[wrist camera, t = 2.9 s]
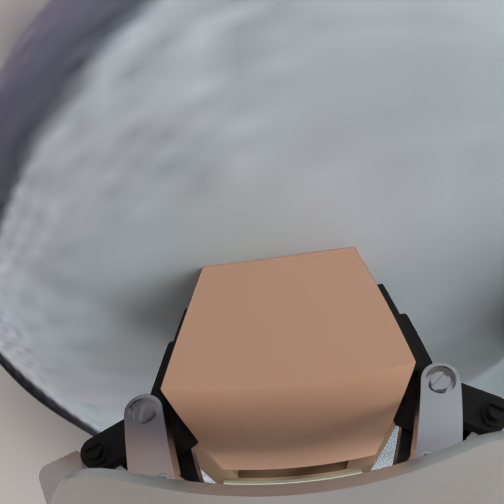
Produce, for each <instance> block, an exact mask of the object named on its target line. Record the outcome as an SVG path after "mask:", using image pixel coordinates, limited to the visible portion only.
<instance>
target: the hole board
mask: <svg viewBox="0 0 504 504" xmlns="http://www.w3.org/2000/svg"><path fill="white" fill-rule="evenodd" d="M395 426H396V425H395V424H394V420H393V421H392V423H391V425H390V427H389V429H388V431H387V433H386V435H385V437H384V439H383V441H382V443H381V445H380V447H379V449H378V451H377V453H376V454H375V455H372V456H367V457H363V458H358V459H353V460H348V461H342V462H337V463H330V464H324V465H316V466H308V467H298V468H286V469H268V470H225V469H222V468H221V467H220V466H219V465H218V464H217V463H216V462H215V461H214V459H213V458H212V457H211V456H210V455H209V454H208V452H207V451H206V450H205V449H204V448H203V446H202V445H201V444H200V443H199V441H198V444H197V445H196V446H194V448H195V452H196V456H197V459H198V463H199V467H200V468H201V469H202V470H203V471H204V472H205V473H206V474H207V475H208V476H209V477H210V478H212V479H213V480H214V481H215V482H216V483H217V484H232V485H269V484H288V483H300V482H310V481H318V480H326V479H332V478H338V477H344V476H350V475H355V474H360V473H364V472H369V471H370V470H371V468H372V467H373V465H374V464H375V462H376V460H377V459H378V457H379V455H380V453H381V452H382V450H383V448H384V446H385V445H386V443H387V441H388V439H389V437H390V435H391V433H392V432H393V430H394V428H395Z"/></svg>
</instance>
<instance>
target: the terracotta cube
mask: <svg viewBox="0 0 504 504" xmlns="http://www.w3.org/2000/svg"><path fill="white" fill-rule="evenodd" d="M415 363H416V361H415V359H414V357H413V355H412V353H411V350H410V348H409V346H408V344H407V342H406V340H405V338H404V336H403V334H402V332H401V330H400V328H399V326H398V324H397V322H396V320H395V318H394V316H393V314H392V312H391V310H390V308H389V306H388V304H387V302H386V301H385V299H384V297H383V295H382V293H381V291H380V290H379V288H378V286H377V284H376V282H375V281H374V279H373V277H372V275H371V273H370V272H369V270H368V268H367V266H366V265H365V263H364V261H363V260H362V258H361V256H360V255H359V253H358V251H357V250H356V248H355V247H349V248H342V249H335V250H328V251H320V252H313V253H305V254H298V255H291V256H283V257H275V258H268V259H260V260H253V261H245V262H237V263H230V264H222V265H214V266H206V267H203V269H202V272H201V274H200V277H199V280H198V282H197V285H196V288H195V290H194V293H193V296H192V299H191V301H190V304H189V307H188V310H187V313H186V315H185V318H184V321H183V324H182V327H181V329H180V332H179V335H178V338H177V341H176V344H175V347H174V350H173V353H172V356H171V359H170V362H169V365H168V368H167V371H166V374H165V377H164V380H163V383H162V386H161V391H162V392H163V394H164V395H165V397H166V398H167V400H168V401H169V403H170V404H171V405H172V407H173V408H174V410H175V411H176V413H177V414H178V415H179V417H180V418H181V419H182V421H183V422H184V423H185V425H186V426H187V427H188V429H189V430H190V431H191V433H192V434H193V435H194V436H195V438H196V439H197V440H198V441H199V443H200V444H201V445H202V446H203V448H204V449H205V450H206V451H207V452H208V454H209V455H210V456H211V457H212V458H213V459H214V461H215V462H216V463H217V464H218V465H219V466H220V467H221V468H222V469H225V470H268V469H286V468H298V467H308V466H316V465H324V464H330V463H337V462H342V461H348V460H353V459H358V458H363V457H367V456H372V455H375V454H376V453H377V451H378V449H379V447H380V445H381V443H382V441H383V439H384V437H385V435H386V433H387V431H388V429H389V427H390V425H391V423H392V421H393V419H394V416H395V414H396V412H397V410H398V407H399V405H400V403H401V400H402V398H403V395H404V393H405V390H406V388H407V385H408V383H409V380H410V377H411V375H412V372H413V369H414V366H415Z"/></svg>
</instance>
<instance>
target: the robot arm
mask: <svg viewBox="0 0 504 504" xmlns="http://www.w3.org/2000/svg"><path fill="white" fill-rule="evenodd" d="M377 286H378V288H379V290H380V291H381V293H382V295H383V297H384V299H385V301H386V302H387V304H388V306H389V308H390V310H391V312H392V314H393V316H394V318H395V320H396V322H397V324H398V326H399V328H400V330H401V332H402V334H403V336H404V338H405V340H406V342H407V344H408V346H409V348H410V350H411V353H412V355H413V357H414V359H415V361H416V363H415V366H414V369H413V372H412V375H411V377H410V380H409V383H408V385H407V388H406V390H405V393H404V395H403V398H402V400H401V403H400V405H399V407H398V410H397V412H396V414H395V416H394V419H393V420H394V424H395V425H397V426H399V432H398V438H397V444H396V450H395V455H394V461H393V465H392V466H389V467H385V468H381V469H377V470H373V471H369V472H364V473H360V474H355V475H350V476H344V477H338V478H332V479H326V480H318V481H310V482H300V483H288V484H269V485H232V484H212V483H204V481H203V477H202V474H201V470H200V467H199V463H198V459H197V456H196V452H195V448H194V446H196V445H197V444H198V440H197V439H196V438H195V436H194V435H193V434H192V433H191V431H190V430H189V429H188V427H187V426H186V425H185V423H184V422H183V421H182V419H181V418H180V417H179V415H178V414H177V413H176V411H175V410H174V408H173V407H172V405H171V404H170V403H169V401H168V400H167V398H166V397H165V395H164V394H163V392H162V391H161V386H162V383H163V380H164V377H165V374H166V371H167V368H168V365H169V362H170V359H171V356H172V353H173V350H174V347H175V344H176V341H177V338H178V335H179V332H180V329H181V327H182V324H183V321H184V318H185V315H186V313H187V310H188V308H187V309H185V311H184V314H183V316H182V319H181V322H180V325H179V327H178V330H177V333H176V336H175V339H174V341H173V342H170V343H169V344H168V346H167V349H166V352H165V354H164V357H163V360H162V363H161V366H160V368H159V371H158V374H157V377H156V380H155V383H154V386H153V388H152V391H151V394H150V395H149V394H145V395H140V396H137V397H135V398H134V399H132V400H131V401H130V402H129V403H128V404H127V406H126V408H125V412H124V419H123V420H122V421H120V422H118V423H116V424H115V425H113V426H111V427H110V428H108V429H106V430H104V431H103V432H101V433H99V434H97V435H95V436H94V437H92V438H90V439H89V440H87V441H86V442H85V443H84V445H83V446H82V448H81V452H78V451H75V452H72V453H70V454H69V455H66V456H64V457H62V458H60V459H58V460H56V461H53V462H51V463H49V464H47V465H45V466H44V467H43V468H42V469H41V471H40V474H39V478H40V483H41V487H42V490H43V493H44V496H45V500H46V503H47V504H504V399H502V398H501V397H498V396H496V395H493V394H490V393H487V392H485V391H482V390H479V389H476V388H474V387H471V386H468V385H466V384H463V383H461V378H460V375H459V373H458V371H457V369H456V368H454V367H453V366H452V365H450V364H448V363H443V362H437V363H432V361H431V359H430V357H429V355H428V353H427V351H426V349H425V347H424V345H423V343H422V341H421V339H420V338H419V336H418V334H417V332H416V330H415V328H414V326H413V325H412V323H411V321H410V319H409V317H408V316H407V315H406V314H399V312H398V310H397V308H396V306H395V304H394V303H393V301H392V299H391V297H390V296H389V294H388V292H387V290H386V289H385V287H384V285H383V284H378V285H377Z"/></svg>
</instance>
